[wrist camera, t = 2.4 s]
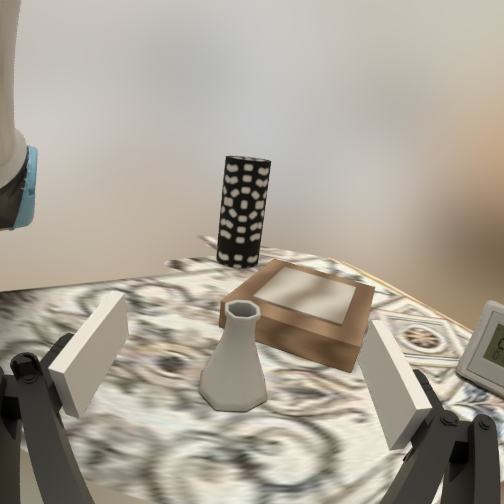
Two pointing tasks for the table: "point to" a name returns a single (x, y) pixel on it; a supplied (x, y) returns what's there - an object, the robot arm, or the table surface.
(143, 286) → the table surface
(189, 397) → the table surface
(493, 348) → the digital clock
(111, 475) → the table surface
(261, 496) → the table surface
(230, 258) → the white-spotted black cylinder
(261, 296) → the walnut plinth
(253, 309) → the flask
